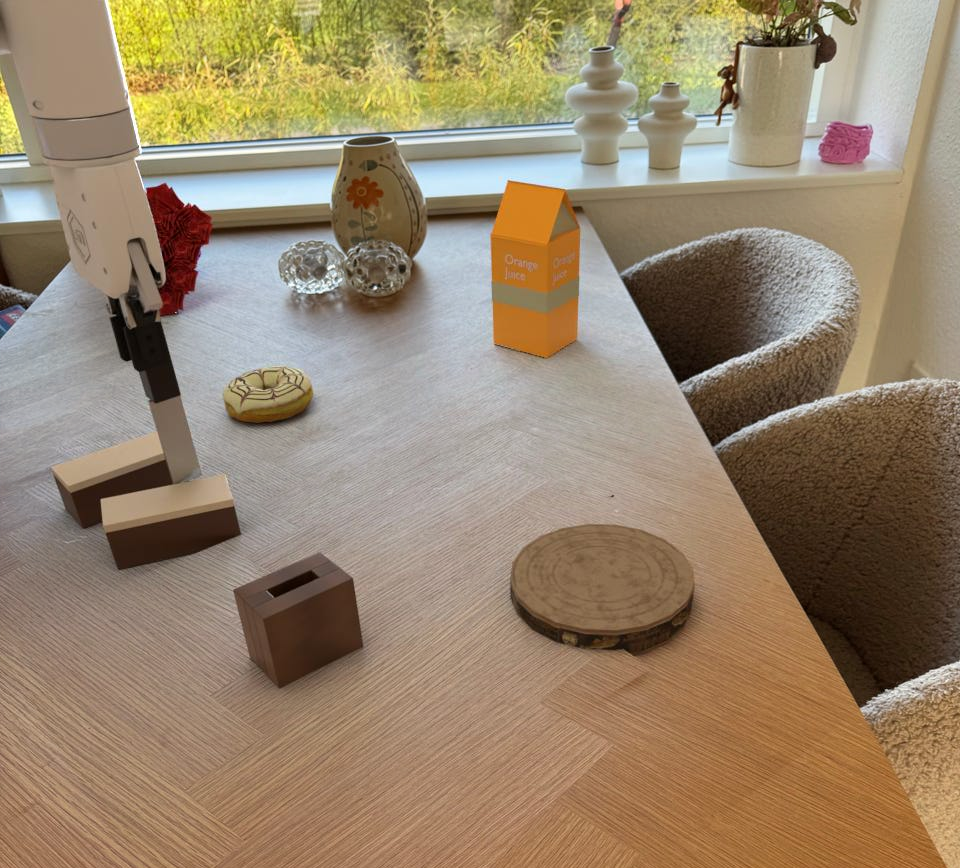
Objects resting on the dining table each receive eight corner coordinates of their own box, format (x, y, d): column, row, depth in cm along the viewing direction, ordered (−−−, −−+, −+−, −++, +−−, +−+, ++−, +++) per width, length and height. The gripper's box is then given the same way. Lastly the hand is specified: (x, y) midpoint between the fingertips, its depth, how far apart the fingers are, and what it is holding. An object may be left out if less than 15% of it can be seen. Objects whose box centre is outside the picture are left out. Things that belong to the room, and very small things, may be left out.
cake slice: (118, 570, 91) (102, 525, 88) (115, 542, 95) (100, 498, 92) (243, 542, 94) (232, 498, 91) (235, 516, 98) (225, 473, 95)
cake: (83, 529, 97) (67, 486, 94) (65, 508, 101) (50, 466, 97) (191, 488, 103) (180, 446, 100) (171, 470, 106) (160, 429, 103)
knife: (178, 489, 93) (124, 308, 82) (168, 481, 95) (115, 301, 83) (206, 478, 95) (157, 298, 83) (196, 470, 96) (147, 292, 84)
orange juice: (546, 358, 126) (547, 196, 113) (492, 344, 130) (487, 187, 117) (578, 339, 130) (583, 181, 118) (525, 326, 135) (524, 172, 122)
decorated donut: (219, 399, 120) (213, 371, 118) (303, 383, 123) (298, 355, 120) (235, 434, 112) (228, 404, 110) (323, 416, 115) (319, 386, 113)
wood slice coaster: (729, 604, 84) (734, 576, 82) (599, 685, 76) (600, 657, 74) (601, 531, 93) (602, 505, 91) (474, 596, 86) (472, 569, 84)
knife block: (281, 697, 76) (263, 619, 71) (251, 666, 80) (232, 589, 75) (365, 655, 80) (353, 577, 75) (333, 627, 83) (320, 551, 78)
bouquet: (209, 288, 170) (233, 305, 145) (113, 304, 166) (121, 324, 140) (180, 166, 161) (200, 161, 136) (78, 179, 157) (79, 177, 131)
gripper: (7, 128, 78) (73, 346, 89) (77, 162, 68) (141, 403, 80) (96, 114, 81) (149, 326, 93) (176, 145, 71) (223, 378, 83)
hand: (145, 360), depth 86 cm, fingers closed on knife, 2 cm apart
